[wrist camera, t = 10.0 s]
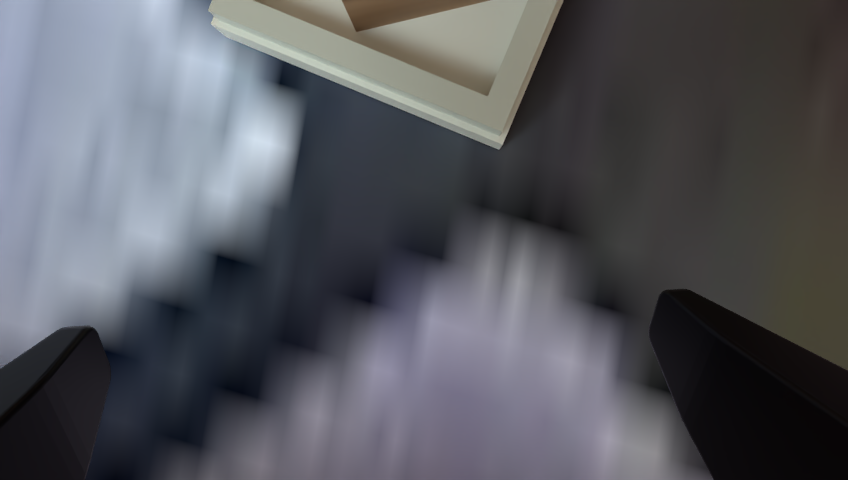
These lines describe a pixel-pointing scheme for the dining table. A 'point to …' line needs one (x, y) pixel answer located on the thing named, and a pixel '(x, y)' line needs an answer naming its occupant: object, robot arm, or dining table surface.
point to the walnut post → (396, 10)
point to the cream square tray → (409, 55)
